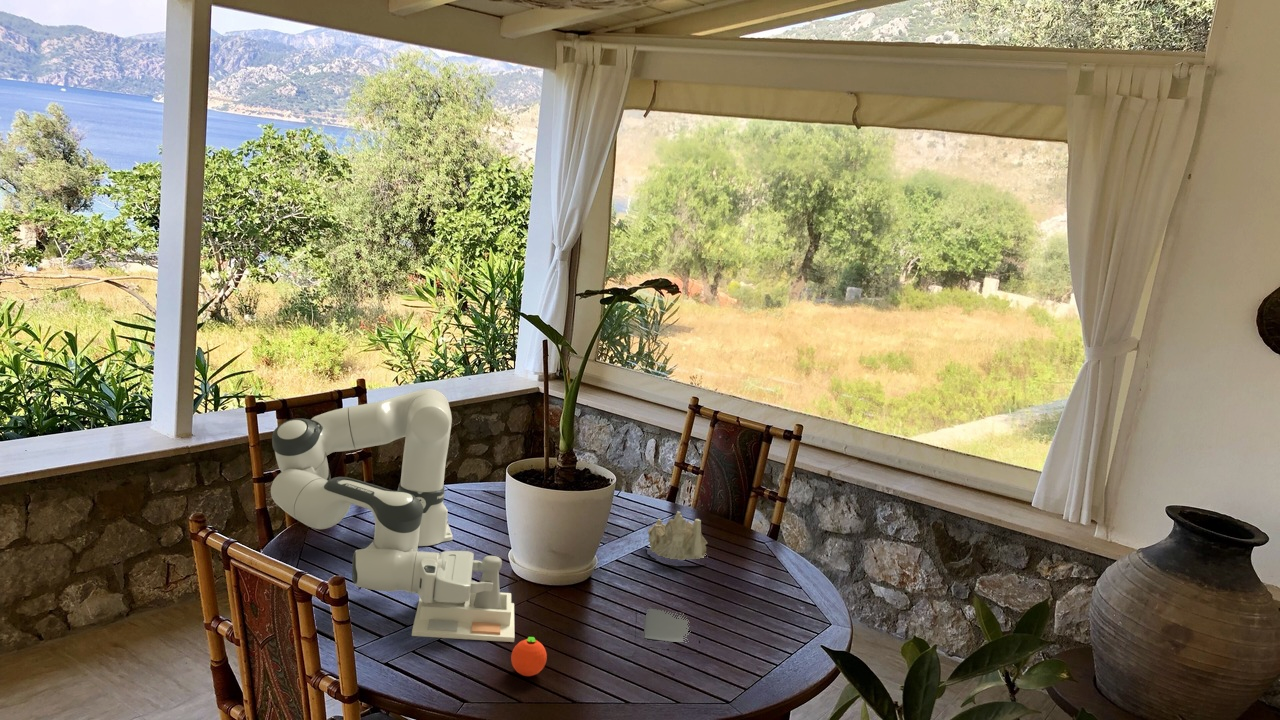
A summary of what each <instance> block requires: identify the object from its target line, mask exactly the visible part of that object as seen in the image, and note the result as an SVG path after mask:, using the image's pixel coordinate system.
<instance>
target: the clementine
mask: <svg viewBox="0 0 1280 720" xmlns="http://www.w3.org/2000/svg"><path fill="white" fill-rule="evenodd" d="M547 656H548V653H547V651H546V648H545V647H544V645H543V643H541V642H540V641H538V640H537V639H536V638H535V637H534V636H528V637H527V638H526V639H523V640H521V641H519V642H518V643H517V644H516V645H515V646H514V648H513V649H512V652H511V656H510V659H511V660H510V661H511V665H512V667H513V669H514V670H515V672H517V673H518V674H519V675H521V676H524V677H532V676H535V675H538V674H539V673H540V672H541V671H542V670H543V669H544V668H545V666H546V663H547V660H548V659H547V658H548V657H547Z"/></svg>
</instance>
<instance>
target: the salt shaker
mask: <svg viewBox="0 0 1280 720" xmlns="http://www.w3.org/2000/svg"><path fill="white" fill-rule="evenodd" d="M481 562H482V568H483V569H484V571H483V572H482V574H481V578H480V581H479V582H485V580H486V581H492V582H493V590H492V591H483V592H478V593H476V597H475V600H474V607H475V608H482V609H497V610H499V608H500V592H501V590H500V575H499V574H500V573H499V572H500V570H501V569H502V567H503V560H502V558H500V557H499V556H497V555H496V556H495V555H487V556H484V558H482V561H481Z"/></svg>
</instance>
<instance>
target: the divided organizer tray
mask: <svg viewBox="0 0 1280 720" xmlns="http://www.w3.org/2000/svg"><path fill="white" fill-rule="evenodd" d="M475 597H476V593H470V597H469V601H466V602H463V603H447V602H437V601H435V600H434V599H433V602H432V603H424V602H422V600H421V598H420V597H419V598H418V599H419V600H418V604H417V608H416V612H415V617H414V621H413V625H412V630H411V637H423V638H424V637H425V638H443V639H456V640H457V639H458V640H459V639H460V640H473V641H474V640H475V641H489V642H490V641H491V642H505V643H506V642H508V643H509V642H510V643H515V603H514V602H512V593H511V592H501V591H500V608H499V610H497V609H482V608H475V607H474V600H475Z"/></svg>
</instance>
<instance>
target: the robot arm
mask: <svg viewBox="0 0 1280 720" xmlns="http://www.w3.org/2000/svg"><path fill="white" fill-rule="evenodd" d="M452 423H453V417H452V411H451V408H450V403H449V401H448V398H447V397H446V396H445V395H444V394H443V393H442V392H441V391H439V390H437V389H435V388H423V389H420V390H417V391H413V392H408V393H404V394H401V395H398V396H394V397H391V398H388V399H385V400H381V401H380V400H379V401H375V402H370V403H364V404H357V405H351V406H347V407H342V408H336V409H333V410H329V411H327V412H324V413H321V414H318V415H315V416H313V417H312V418H311V419H309V418H307V419H306V418H292V419H287V420H285V421H283V422H281V423H280V424H279V425H277V427H275V429H274V430H273V432H272V435H271V444H272V449H273V451H274V455H275V459H276V463H277V466H278V469H279V470H280V473H278V474H277V476H276V477H275V478H274V479H273V481H272V483H271V487H270V496H271V498H272V500H273V501H274V503H275V504H276V505H277V506H278V507H279V508H281V509H282V510H283V511H284V512H285V513H287V514H288V516H290V517H292V518H294V519H295V520H297V521H298V522H300V523H302V524H303V525H305V526H307V527H310V528H312V529H315V530H325V529H330V528H332V527H334V526H336V525H337V524H339V523H340V522H341V521H342V520H343V519H344V518H345V517H346V516H347V514H348V512H349V511H350V508H351V506H352V505H355V506H357V507H360V508H364V509H366V510H369V511H371V513H372V514H373V517H374V523H375V524H374V537H373V541H372V542H371V543H370V544H369V545H368V546H367V547H366V548H361V549H356V550H355V551H354V552H353V555H352V560H351V561H352V562H351V563H352V564H351V567H352V569H351V579H352V582H353V584H354V585H355V586H357V587H359V588H362V589H367V590H373V591H380V592H395V591H403V592H407V593H409V594H416V595H417V596H418V597H419V599H420V598H421V600H422V602H424V603H432V602H433V599H434V600H435V601H437V602H447V603H463V602H466V601H469V597H470V593H478V592H483V591H492V590H493V582H492V581H486V580H485V582H480V581H479V582H477V581H475V580H472V577H473V576H472V575H473V572H475V573H476V572H481V573H483V571H484V569H483V568H482V561H481V560H476V559H475V558H474V555H475V554H474V552H471V551H468V550H445V551H442V552H440V553H439V552H434V551H424V550H423V551H422V550H420V551H419V550H418V549H419V548H418V547H427V546H434V545H438V544H440V543H443V542H451V541H453V538H454V537H453V536H454V535H453V533H452V530H451V528H450V525H449V520H448V514H449V513H448V511H449V510H448V508H447V506H446V505H445V504H444V500H445V495H446V493H445V492H446V491H445V486H444V483H445V482H444V481H445V474H446V464H447V456H448V451H449V446H450V445H449V444H450V437H451V430H452ZM404 437H405V438H404ZM402 438H404V439H405V440H404V446H403V454H402V455H403V456H402V464H401V474H400V475H401V476H400V482H399V484H398V488H397V490H395V489H393V490H392V489H389V488H385V487H382V486H379V485H376V484H373V483H369V482H365V481H362V480H359V479H355V478H351V477H347V476H337V477H336V476H335V477H333V478H331V470H330V468H329V463H328V458H327V456H328V455H330V454H332V453H335V452H336V453H337V452H347V451H354V450H359V449H364V448H365V449H366V448H370V447H371V448H372V447H375V446H382V445H387V444H390V443H391V442H393V441H396V440H399V439H402Z"/></svg>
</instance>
